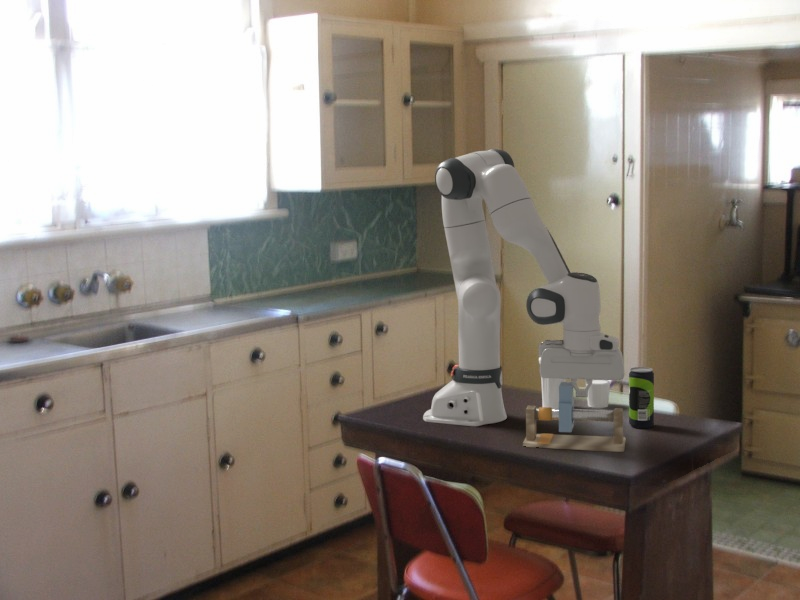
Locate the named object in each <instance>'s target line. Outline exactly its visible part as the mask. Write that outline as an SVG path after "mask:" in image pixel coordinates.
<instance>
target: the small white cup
mask: <svg viewBox="0 0 800 600" xmlns="http://www.w3.org/2000/svg"><path fill="white" fill-rule="evenodd" d="M587 385H588V384H587V383H586V382H585V388H586V387H587ZM610 389H611V380H594V379H593V382H592V385H591V386H590V388H589V390H588V397H586V399H587V401H586V402H587V406H588V407H591V408H592V409H593V408H594V409H595V408H596V409H604V408H608V407H609V403H610V401H609V400H610Z"/></svg>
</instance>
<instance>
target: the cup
mask: <svg viewBox="0 0 800 600" xmlns="http://www.w3.org/2000/svg"><path fill="white" fill-rule="evenodd" d="M540 361H541V357H540V356H539V357H538V364H540ZM540 379H541V381H540V382H541V384H540V385H541V399H542V400H541V403H542V404H541V405H542V406H541V407H552V408H558V409H559V385H560V383H561V382H567V379H557V378H542V377H541V376H540Z"/></svg>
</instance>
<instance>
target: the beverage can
mask: <svg viewBox="0 0 800 600" xmlns="http://www.w3.org/2000/svg"><path fill="white" fill-rule="evenodd" d="M629 369H630V372H629V373H628V423H629V425H630V426H631V428H634V429H639V430H641V429H645V430H646V429H650V428H652V427H653V425H654V424H655V423H654V422H655V421H654V420H655V417H654V416H655V414H654V411H655V407H654V406H655V405H654V404H655V373H654V369H653V368H651V367H647V366H646V367H644V366H638V367H637V366H635V367H632V368H629Z"/></svg>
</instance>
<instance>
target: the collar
mask: <svg viewBox="0 0 800 600" xmlns="http://www.w3.org/2000/svg"><path fill="white" fill-rule="evenodd" d="M574 400H575V397H574V387H573V386H572V384H571V381H569V382H568V381H566V382H561V383H560V385H559V420H558V432H559V433H572V431H573V429H574V426H575V421H572V409H575V401H574Z"/></svg>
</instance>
